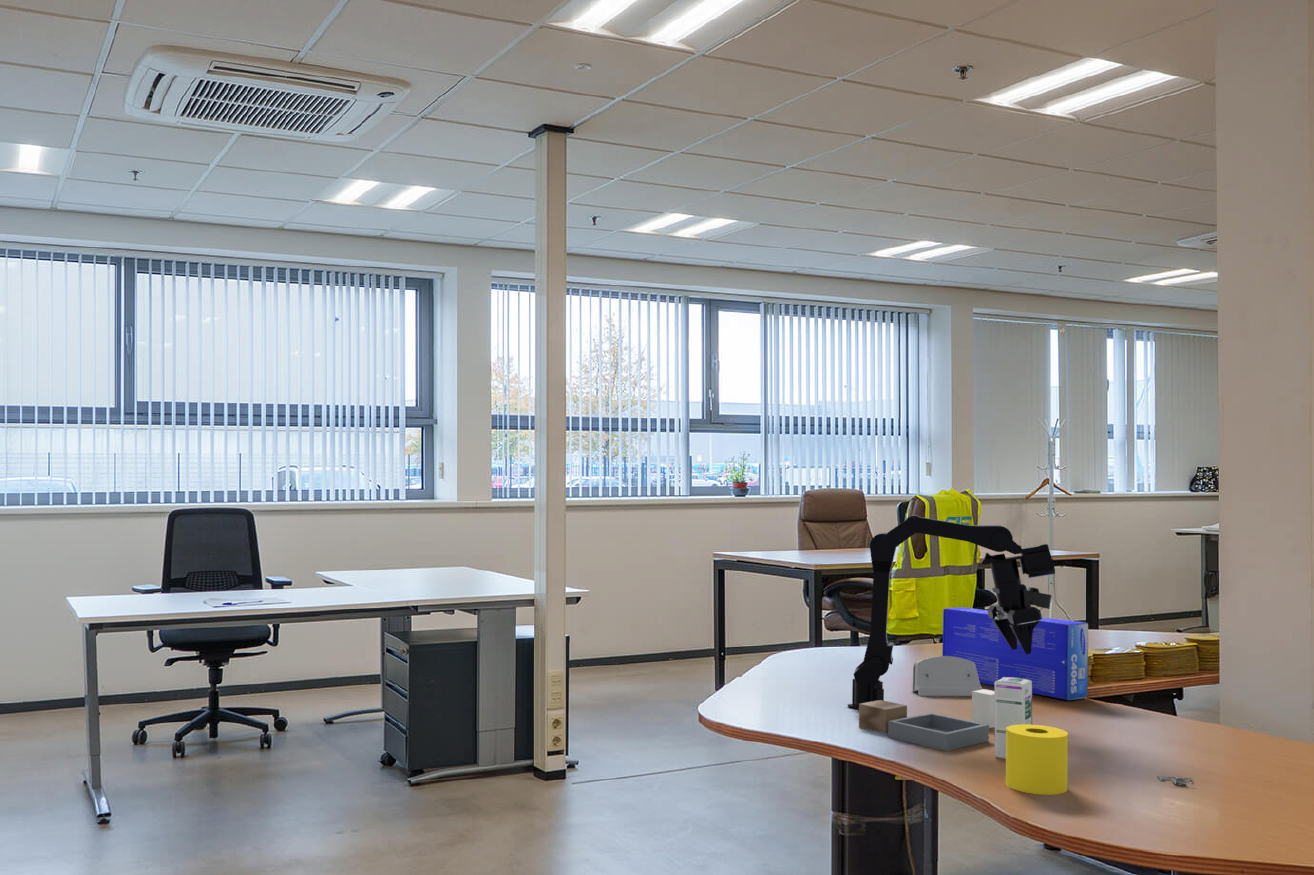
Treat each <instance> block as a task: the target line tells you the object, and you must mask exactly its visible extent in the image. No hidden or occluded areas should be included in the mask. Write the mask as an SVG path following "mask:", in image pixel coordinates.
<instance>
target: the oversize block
mask: <svg viewBox="0 0 1314 875" xmlns="http://www.w3.org/2000/svg"><path fill="white" fill-rule="evenodd" d="M907 715H908V705H905V704H901V703H898V702H897V703H895V702H892V701H886V700H884V701H883V700H878V701H872V702H866V703H861V704H859V709H858V728H862V729H866V730H871V731H875V732H878V733H882V734H888V721H891V720H896V719H902V718H907V717H908V716H907Z"/></svg>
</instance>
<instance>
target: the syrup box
mask: <svg viewBox="0 0 1314 875" xmlns="http://www.w3.org/2000/svg"><path fill="white" fill-rule="evenodd" d="M993 687H994V690H993V691H994V694H995V699H994V700H995V709H994V711H995V727H994V757H995V758H998V759H1005V760H1006V728H1007V727H1008V726H1011V725H1019V724H1030V725H1033V693H1032V681H1031V680H1029V679H1023V678H1014V677H1003V678H1002V679H1000V680H998V681H995V682H994V686H993Z"/></svg>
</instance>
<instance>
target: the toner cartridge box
mask: <svg viewBox="0 0 1314 875" xmlns="http://www.w3.org/2000/svg"><path fill="white" fill-rule="evenodd" d="M942 612H943V613H942V650H941V651H942V654H941V656H953V657H959V658H963V659H967V660H969V661H972V662H974V663H975V665H976V669H977V673H978V677H979V681H980V685H985V686H991V687H994V682H995V681H998V680H1000V679H1002V678H1003V677H1014V678H1023V679H1029V680H1031V681H1032V695H1033V694H1034V695H1040V696H1044V697H1049V698H1054V699H1061V700H1064V701H1073V700H1074V701H1075V700H1080V699H1086V698H1087V697H1088V687H1089V683H1088V682H1089V679H1088V678H1089V623H1088V622H1084V621H1083V622H1082V621H1074V620H1067V619H1059V618H1058V619H1057V618H1052V617H1051V618H1050V617H1044V616H1042V619H1041V620H1039V621H1040V623H1039V624H1037V625H1036V626H1035V628H1034V629H1033V635H1032V647H1031V654H1025V652H1024V650H1023V649H1022V647H1021V645H1020V643H1019V642H1018V640H1017V649H1015V650H1012V649H1011V647H1010V646H1009V644H1008V643H1007V641H1006V640H1005V638H1004V637H1003V636H1002V634H1001V633H1000V631H999V630H998V628H997V627H996V626H995V624H994V623H993V622H992V620H993V619H991V618H989V615H988V609H987V610H986V609H978V608H971V607H947V608H946V607H945V608H944V609H943V610H942ZM994 619H995V618H994Z"/></svg>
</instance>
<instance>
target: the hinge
mask: <svg viewBox="0 0 1314 875" xmlns="http://www.w3.org/2000/svg"><path fill="white" fill-rule="evenodd" d="M911 688H912V689H911V690H912V693H918V694H917V695H918V696H920V697H921V696H922V697H923V696H924V697H925V696H927V697H928V696H929V697H931V696H933V697H941V696H942V697H950V696H951V697H953V696H954V697H961V696H962V697H966V696H967V697H972V691H977V690H982V689H983V687H982V684H980V681H979V677H978V673H977V669H976V665H975V663H974V662H972V661H969V660H967V659H963V658H959V657H953V656H942V655H939V656H938V655H937V656H930V657H927V658H923V659H921V660H917V661H916V662H915V663H914V664H913V666H912V686H911Z"/></svg>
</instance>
